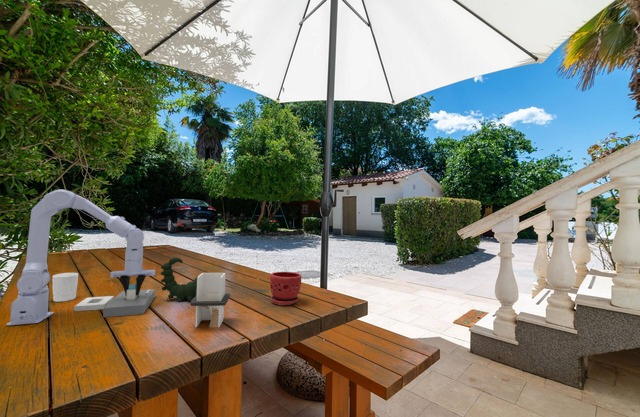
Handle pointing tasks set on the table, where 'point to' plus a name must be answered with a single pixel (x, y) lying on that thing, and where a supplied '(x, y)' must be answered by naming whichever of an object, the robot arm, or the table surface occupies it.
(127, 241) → the robot arm
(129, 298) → the plug
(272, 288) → the plant pot
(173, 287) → the toy figurine
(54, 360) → the table surface
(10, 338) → the table surface
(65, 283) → the white cup
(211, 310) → the white grey toy chair
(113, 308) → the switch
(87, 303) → the square frame
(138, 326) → the table surface
